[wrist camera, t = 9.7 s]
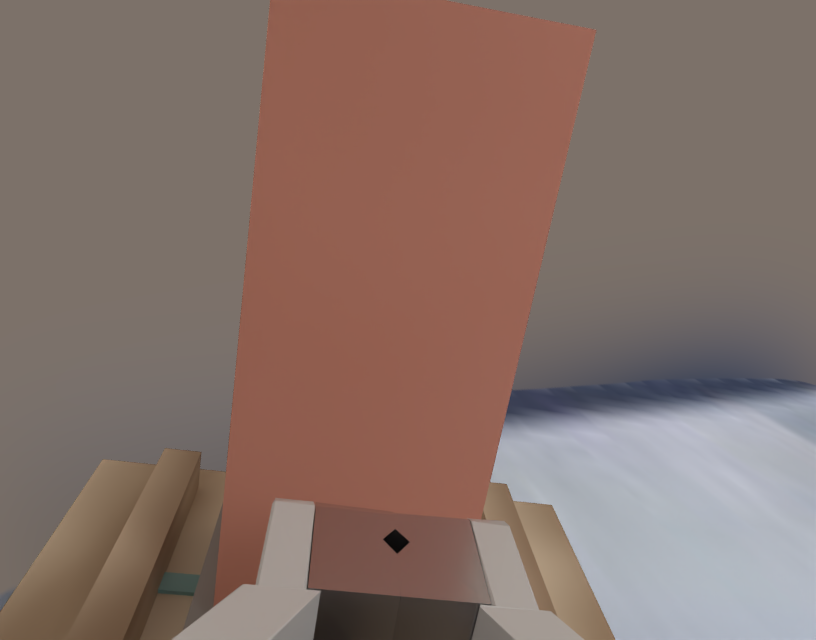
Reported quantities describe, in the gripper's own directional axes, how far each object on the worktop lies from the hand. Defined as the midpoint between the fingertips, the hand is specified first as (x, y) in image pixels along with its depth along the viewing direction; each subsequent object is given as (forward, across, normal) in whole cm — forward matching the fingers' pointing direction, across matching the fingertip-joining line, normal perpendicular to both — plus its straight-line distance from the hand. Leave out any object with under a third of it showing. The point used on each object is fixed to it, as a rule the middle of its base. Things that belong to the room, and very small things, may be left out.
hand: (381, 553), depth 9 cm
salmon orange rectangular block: (+6, 0, +6) cm, 8 cm away
